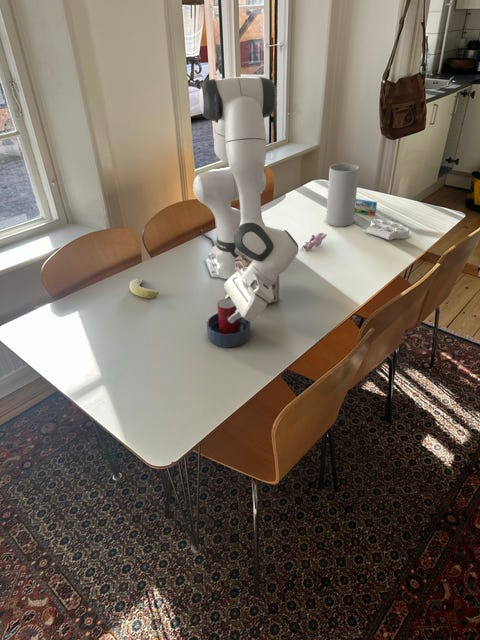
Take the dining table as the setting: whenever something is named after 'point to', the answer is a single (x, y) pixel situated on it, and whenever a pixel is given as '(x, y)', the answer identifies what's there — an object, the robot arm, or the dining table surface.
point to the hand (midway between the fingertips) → (225, 315)
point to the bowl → (228, 339)
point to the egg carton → (387, 229)
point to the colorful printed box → (365, 207)
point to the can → (226, 316)
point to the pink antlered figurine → (314, 241)
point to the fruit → (141, 289)
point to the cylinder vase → (342, 194)
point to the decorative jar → (244, 262)
